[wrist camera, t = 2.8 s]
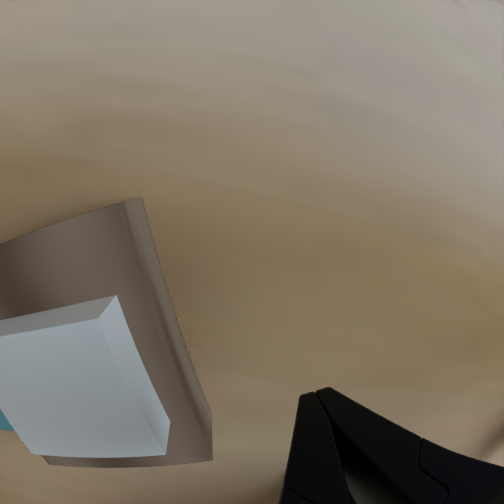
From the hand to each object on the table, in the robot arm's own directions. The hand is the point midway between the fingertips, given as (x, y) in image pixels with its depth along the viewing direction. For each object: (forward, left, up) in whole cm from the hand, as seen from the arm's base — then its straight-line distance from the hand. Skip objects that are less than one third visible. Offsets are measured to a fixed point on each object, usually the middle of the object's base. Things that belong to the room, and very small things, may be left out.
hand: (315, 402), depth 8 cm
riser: (+10, 0, -7) cm, 12 cm away
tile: (+9, 0, -4) cm, 10 cm away
